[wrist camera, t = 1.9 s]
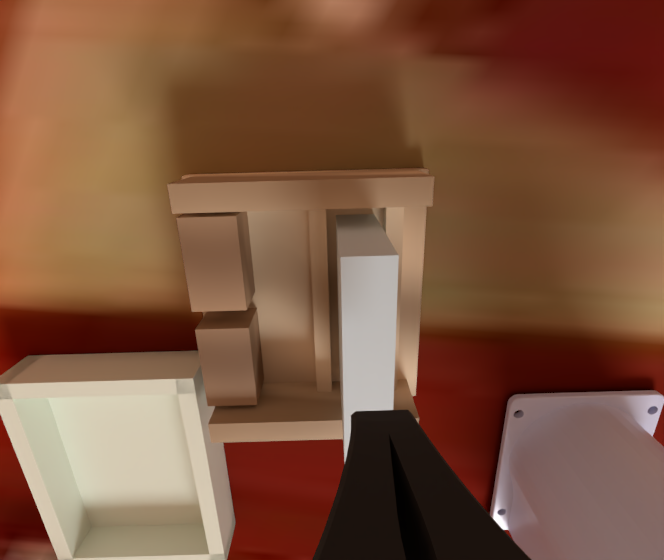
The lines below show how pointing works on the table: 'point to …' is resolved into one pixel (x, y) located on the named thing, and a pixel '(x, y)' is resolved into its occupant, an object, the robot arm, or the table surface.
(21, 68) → the table surface
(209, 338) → the offcut
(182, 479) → the tray
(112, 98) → the table surface
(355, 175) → the rack
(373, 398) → the block
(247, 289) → the offcut
